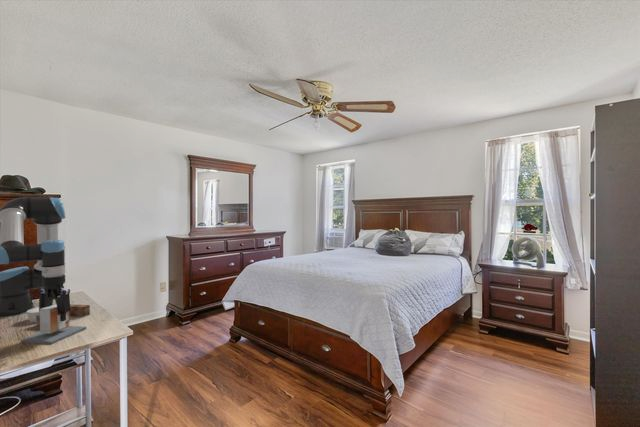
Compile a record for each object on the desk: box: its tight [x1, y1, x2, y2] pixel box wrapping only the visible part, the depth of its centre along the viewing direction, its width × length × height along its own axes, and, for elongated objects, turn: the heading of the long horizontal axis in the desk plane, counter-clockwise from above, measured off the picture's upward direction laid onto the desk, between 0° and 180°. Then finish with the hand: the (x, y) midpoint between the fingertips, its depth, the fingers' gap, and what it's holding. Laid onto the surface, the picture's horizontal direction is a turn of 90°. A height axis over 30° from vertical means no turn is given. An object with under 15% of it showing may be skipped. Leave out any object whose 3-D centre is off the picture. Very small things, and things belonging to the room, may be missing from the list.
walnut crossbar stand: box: [36, 303, 91, 327], centre depth 145 cm, size 12×16×5 cm
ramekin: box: [25, 306, 40, 323], centre depth 147 cm, size 11×11×5 cm
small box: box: [39, 303, 70, 334], centre depth 127 cm, size 8×6×10 cm
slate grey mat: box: [20, 325, 87, 345], centre depth 127 cm, size 15×15×1 cm
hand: (55, 327), depth 127 cm, fingers closed on small box, 6 cm apart
